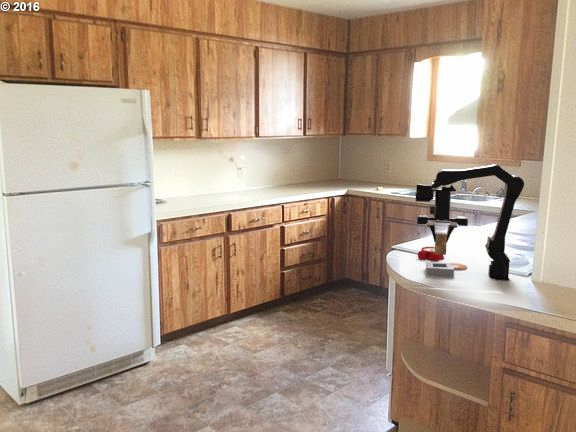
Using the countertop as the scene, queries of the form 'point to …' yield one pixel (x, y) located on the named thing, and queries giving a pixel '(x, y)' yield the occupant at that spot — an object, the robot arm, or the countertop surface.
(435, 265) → the pocket holder
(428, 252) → the alarm clock
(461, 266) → the terracotta plate
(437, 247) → the walnut block
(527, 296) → the countertop surface
